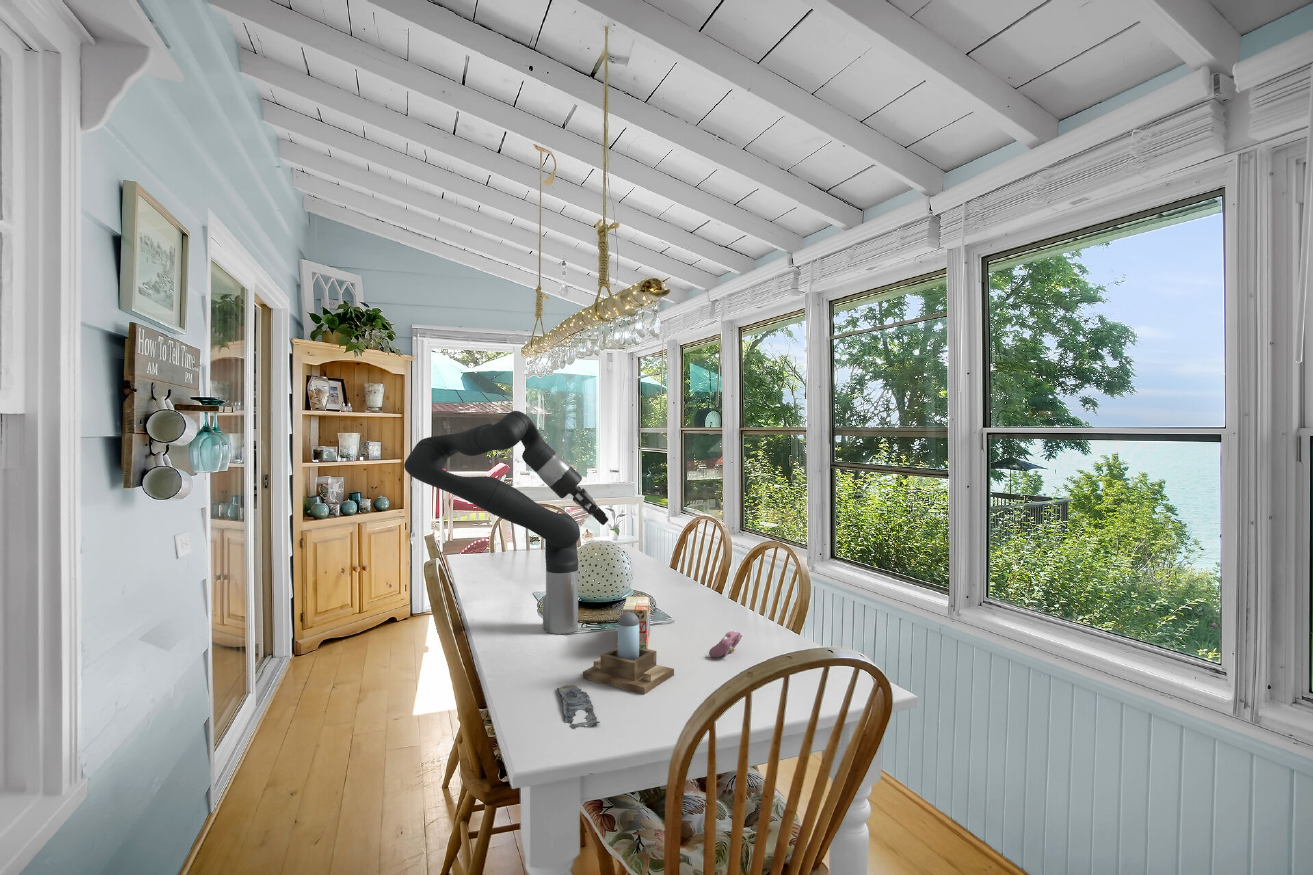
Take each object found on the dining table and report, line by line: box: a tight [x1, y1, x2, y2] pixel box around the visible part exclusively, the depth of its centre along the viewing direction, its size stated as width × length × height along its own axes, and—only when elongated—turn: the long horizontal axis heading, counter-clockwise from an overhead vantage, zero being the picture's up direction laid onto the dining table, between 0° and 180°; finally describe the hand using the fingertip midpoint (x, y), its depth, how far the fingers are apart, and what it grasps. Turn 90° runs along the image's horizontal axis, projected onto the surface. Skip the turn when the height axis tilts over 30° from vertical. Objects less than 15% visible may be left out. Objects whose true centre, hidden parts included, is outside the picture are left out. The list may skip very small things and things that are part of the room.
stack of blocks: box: [622, 596, 651, 649], centre depth 173 cm, size 21×6×12 cm, turn 178°
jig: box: [582, 646, 675, 695], centre depth 149 cm, size 17×13×6 cm
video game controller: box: [708, 630, 743, 658], centre depth 165 cm, size 10×5×7 cm, turn 150°
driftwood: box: [556, 684, 601, 730], centre depth 133 cm, size 21×7×2 cm, turn 14°
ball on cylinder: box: [617, 612, 639, 661], centre depth 149 cm, size 5×5×14 cm
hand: (604, 520), depth 162 cm, fingers open, 8 cm apart
